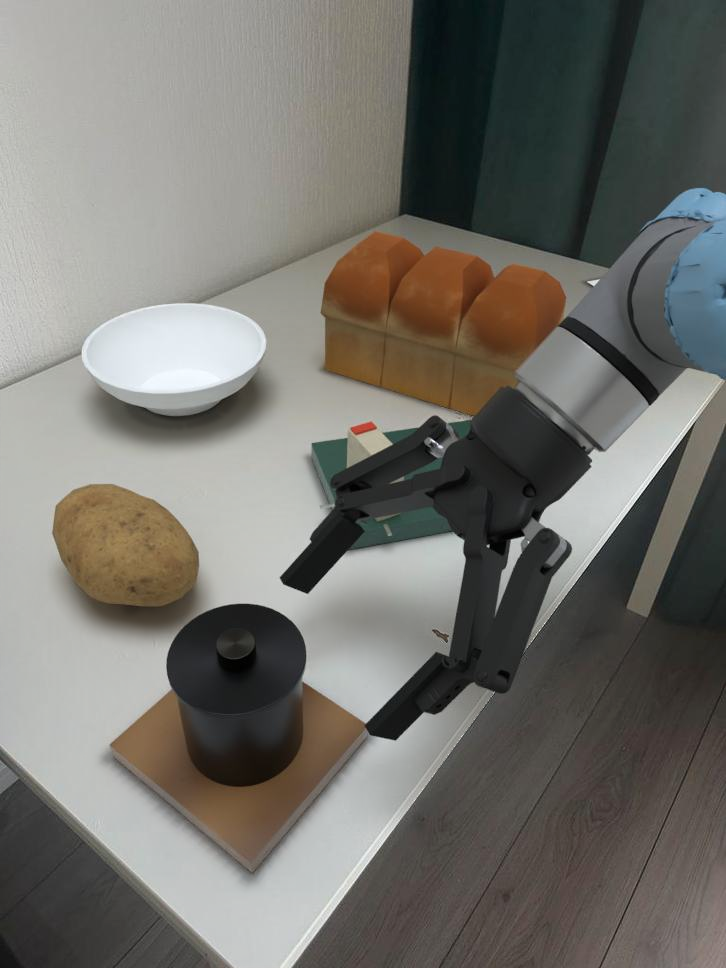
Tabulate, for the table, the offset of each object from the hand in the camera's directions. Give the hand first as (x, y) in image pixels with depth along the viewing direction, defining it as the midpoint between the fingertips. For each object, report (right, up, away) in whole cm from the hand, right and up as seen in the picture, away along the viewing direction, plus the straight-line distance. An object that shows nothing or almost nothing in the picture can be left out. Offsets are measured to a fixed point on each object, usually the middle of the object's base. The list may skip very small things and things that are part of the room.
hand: (332, 653), depth 52 cm
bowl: (-18, +21, +35) cm, 45 cm away
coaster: (+41, +40, +62) cm, 84 cm away
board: (-6, -7, +2) cm, 10 cm away
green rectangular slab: (+7, +11, +25) cm, 28 cm away
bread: (+11, +25, +41) cm, 49 cm away
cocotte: (-6, -6, +1) cm, 8 cm away
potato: (-17, +3, +13) cm, 22 cm away
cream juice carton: (+3, +10, +20) cm, 22 cm away
